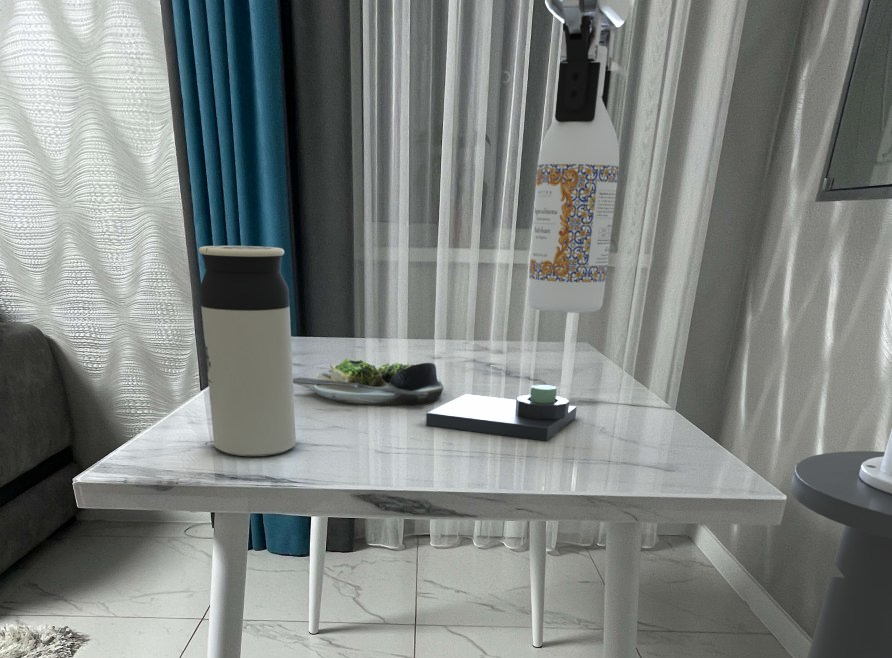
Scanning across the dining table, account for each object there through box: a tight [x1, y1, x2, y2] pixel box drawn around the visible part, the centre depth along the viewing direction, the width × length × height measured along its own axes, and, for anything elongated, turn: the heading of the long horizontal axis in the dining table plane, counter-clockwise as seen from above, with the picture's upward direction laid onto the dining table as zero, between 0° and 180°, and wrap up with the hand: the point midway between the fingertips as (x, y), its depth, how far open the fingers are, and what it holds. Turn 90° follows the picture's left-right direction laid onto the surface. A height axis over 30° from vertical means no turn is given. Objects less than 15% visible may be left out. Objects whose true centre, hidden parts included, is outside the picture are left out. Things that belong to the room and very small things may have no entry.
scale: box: [425, 393, 578, 442], centre depth 92 cm, size 14×12×3 cm
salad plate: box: [293, 358, 444, 406], centre depth 104 cm, size 19×18×5 cm
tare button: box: [529, 384, 557, 403], centre depth 90 cm, size 3×3×2 cm
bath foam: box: [526, 45, 620, 314], centre depth 71 cm, size 7×7×20 cm
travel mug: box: [198, 245, 297, 457], centre depth 76 cm, size 8×8×18 cm
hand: (580, 121), depth 68 cm, fingers closed on bath foam, 3 cm apart
